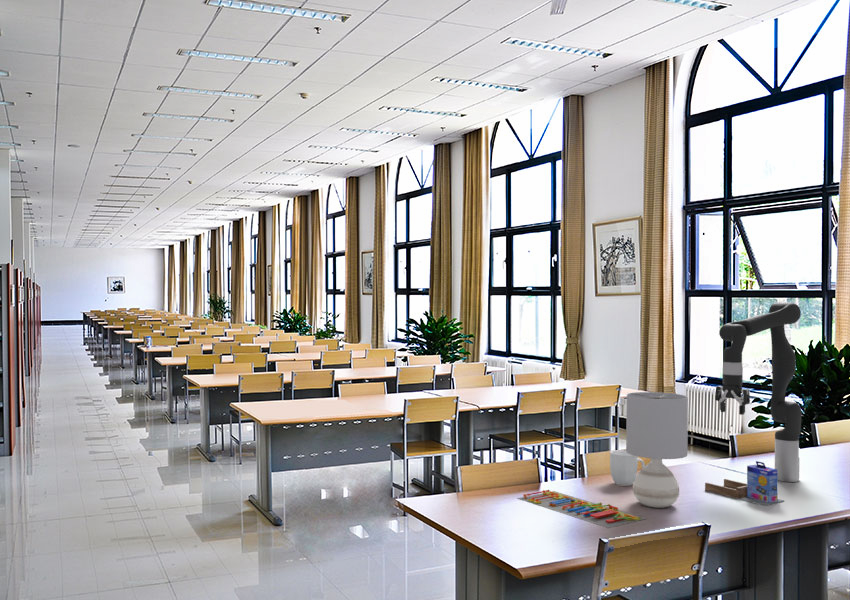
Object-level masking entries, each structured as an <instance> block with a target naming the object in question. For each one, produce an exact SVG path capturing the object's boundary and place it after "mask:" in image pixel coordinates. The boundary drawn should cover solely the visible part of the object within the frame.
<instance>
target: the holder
mask: <svg viewBox="0 0 850 600" xmlns="http://www.w3.org/2000/svg"><path fill="white" fill-rule="evenodd" d="M704 491H707V492H710V493H714V494H718V495H723V496H726V497H730V498H734V499H742V498H747V483H745V482H742V481H741V482H740V481H736V480H731V479H729V478H728V479H727V478H724V479H723V486H722V485H718V484H714V483H709V482H705V483H704Z"/></svg>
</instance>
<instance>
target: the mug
mask: <svg viewBox="0 0 850 600" xmlns="http://www.w3.org/2000/svg"><path fill="white" fill-rule="evenodd" d="M609 452H610V453H609V469H610V476H611V478H612V479H611V480H612V481H613V482H614V484H615V485H616V486H619V485H620V487H630V486H633V483H634V480H635V478H636V476H637V474H638V465H639V464H638V463H639V462H640V463H641V469H642V468H643V467H645V466H646V465H645V464H646V463H645V461H644V460H643V459H642V458H641V457H638V456H634V455H631V454H628V453H627V452H626V449H625V450H623V449H617V450H615V449H613V450H610V451H609Z"/></svg>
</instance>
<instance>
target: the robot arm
mask: <svg viewBox="0 0 850 600" xmlns="http://www.w3.org/2000/svg"><path fill="white" fill-rule="evenodd" d="M768 310H769V311H768V313H764V314H763V313H762V314H757V315H754V316H748V317H747V318H744V319H742V320H737V321H733V322H728V323H724V324H723V325H722V326H721V327H720V329H719V330H718V331H719V332H718V333H719V334H718V335H719V337H720V339H721V340H723V341H725V342H731V344H730V346H728V347H725V348H724V350H723V364H722V385H723V386H722V385H717V386H715V396H714V399H715V401H716V402H719V410H720V412H721V413H725V412H726V403H727V400H728V399H732V400H733V399H734V400H736V401H737V402H738V404H739V406H738V408H739V409H738V414H739V415H741V416H742V415H743V416H744V415H745V413H746V405H750V404H751V402H750V401H751V399H750V398H751V397H750V389H749V388H746V389H744V388H742V386H743V380H744V379H743V375H744V374H743V373H744V372H743V370H744V369H743V351H744V347H745V344H746V341H747V337H749V336H753V335H755V334H759V333H761V332H763V331H767V330H770V336H771V338H770V340H771V341H770V342H771V372H772V373H771V374H772V376H771V377H772V383H771V385H772V386H771V397H770V399H771V400H770V416H771V418H772V420H773V421H774V422H777V423H783V424H784V425H785V426H784V428H783V429H780V430H777V431H775V432H774V469H777V481H780V482H788V483H795V482H796V483H797V482H799V480H800V449H799V448H800V446H799V445H800V435H801V429H802V417H803V413H802V408H801V406H800V404H799V403H798V402H793V401H787V400H786V390H787V387H788V386H789V384H790V382H791V380H792V379H793V378H794V375H795V373H796V369H797V366H796V365H797V363H796V361H797V358H796V353H795V350H794V348H793V347H792V345H791V343H790V342H789V340H788V338H787V335H786V332H785V331H786V330H785V325H786V326H787V325H791V324H792V325H793V324H795V323H797V322H799V320H800V318H801V311H802V310H801V308H800V306H799V305H798V304H796V303H793V302H783V301H781V302H778V301H777V302H773V303H772V304H771V305H770V306H769V309H768Z"/></svg>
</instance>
